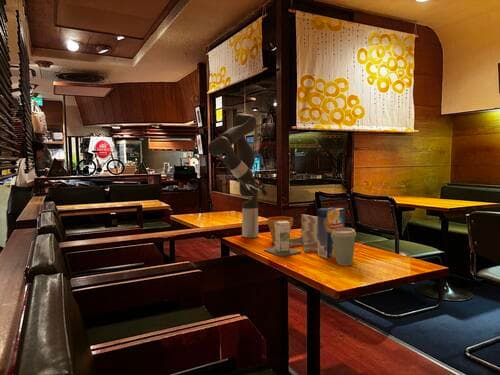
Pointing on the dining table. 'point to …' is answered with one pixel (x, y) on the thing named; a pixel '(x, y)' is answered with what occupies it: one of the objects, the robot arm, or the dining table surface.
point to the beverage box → (328, 229)
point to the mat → (282, 254)
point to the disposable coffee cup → (344, 245)
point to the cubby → (307, 234)
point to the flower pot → (272, 224)
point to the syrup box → (282, 236)
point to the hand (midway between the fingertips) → (261, 194)
